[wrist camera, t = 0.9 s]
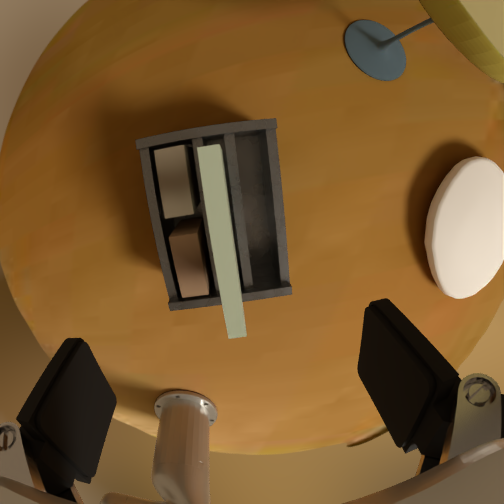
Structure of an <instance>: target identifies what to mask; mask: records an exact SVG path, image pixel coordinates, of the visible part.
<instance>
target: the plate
mask: <svg viewBox="0 0 504 504" xmlns="http://www.w3.org/2000/svg"><path fill="white" fill-rule="evenodd" d="M424 243H425V248H426V253H427V258H428V263H429V267H430V270H431V273H432V276H433V278H434V280H435V282H436V284H437V286H438V288H439V289H440V290H441V291H442V292H443V293H444V294H446V295H448V296H451V297H453V298H456V299H461V298H466V297H469V296H472V295H474V294H475V293H477V292H478V291H479V290H480V289H482V288H483V287H484V286H486V285H487V284H488V283H489V281H490V280H491V279H492V278H493V277H494V275H495V274H496V272H497V271H498V269H499V268H500V266H501V264H502V262H503V260H504V173H503V171H502V170H501V169H500V168H499V167H498V166H497V165H496V163H494V162H493V161H491V160H489V159H487V158H485V157H478V156H475V157H471V158H467V159H464V160H462V161H460V162H459V163H458V164H456V165H455V166H454V167H453V168H452V169H451V171H450V172H449V173H448V174H447V175H446V177H445V178H444V180H443V181H442V183H441V184H440V186H439V188H438V189H437V191H436V194H435V196H434V198H433V200H432V202H431V204H430V208H429V212H428V216H427V221H426V231H425V241H424Z"/></svg>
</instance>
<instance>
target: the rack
mask: <svg viewBox="0 0 504 504" xmlns="http://www.w3.org/2000/svg"><path fill="white" fill-rule="evenodd" d="M276 128H277V122H276V118H274V119H261V120H250V121H241V122H232V123H224V124H217V125H210V126H203V127H197V128H191V129H185V130H180V131H174V132H169V133H164V134H160V135H155V136H150V137H146V138H142V139H137V140H135V141H136V149H137V150H140V157H141V164H142V171H143V177H144V183H145V189H146V195H147V201H148V206H149V212H150V217H151V222H152V227H153V232H154V237H155V241H156V246H157V250H158V255H159V259H160V263H161V268H162V272H163V276H164V280H165V284H166V288H167V292H168V295H169V302H168V305H169V308H170V311H173V310H182V309H191V308H199V307H208V306H215V305H222V301H221V296H220V290H219V285H218V279H217V274H216V268H215V262H214V256H213V251H212V245H211V239H210V232H209V226H208V220H207V214H206V207H205V200H204V194H203V187H202V180H201V173H200V166H199V158H198V151H197V147H203V146H210V145H217V144H220V146H221V149H222V151H223V159H224V167H225V174H226V182H227V190H228V197H229V205H230V212H231V219H232V227H233V234H234V241H235V248H236V255H237V263H238V271H239V279H240V287H241V295H242V302H245V301H252V300H259V299H265V298H272V297H278V296H285V295H291V294H292V286H291V284H290V281H289V266H288V253H287V240H286V228H285V216H284V205H283V195H282V184H281V174H280V165H279V156H278V147H277V138H276ZM180 145H186V146H189V147H193V153H194V160H195V167H196V175H197V182H198V188H199V195H200V203H199V205H198V207H197V209H196V211H195V213H194V214H191V215H185V216H178V217H172V218H166V219H165V216H164V210H163V204H162V199H161V193H160V187H159V181H158V174H157V167H156V161H155V153H154V150H159V149H164V148H169V147H174V146H180ZM198 217H203V221H204V227H205V233H206V239H207V245H208V251H209V256H210V262H211V276H210V285H209V294H208V295H200V296H192V297H184V298H182V295H181V290H180V286H179V282H178V278H177V273H176V269H175V265H174V260H173V256H172V251H171V246H170V241H169V236H170V235H171V233H172V232H173V230H174V229H175V227H176V226H177V224H178V223H179V221H180V220H185V219H192V218H198Z"/></svg>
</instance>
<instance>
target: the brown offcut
mask: <svg viewBox="0 0 504 504" xmlns="http://www.w3.org/2000/svg"><path fill="white" fill-rule="evenodd" d="M154 153H155V161H156V167H157V174H158V181H159V187H160V193H161V199H162V204H163V210H164V216H165V219H166V218H172V217H178V216H185V215H191V214H194V213H195V211H196V209H197V207H198V205H199V203H200V195H199V188H198V182H197V175H196V167H195V160H194V153H193V147H189V146H186V145H180V146H174V147H169V148H164V149H159V150H154Z"/></svg>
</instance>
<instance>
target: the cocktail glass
mask: <svg viewBox="0 0 504 504" xmlns="http://www.w3.org/2000/svg"><path fill="white" fill-rule="evenodd" d="M419 1H420V3H421V4H422V6H423V7H424V9H425V10H426V12H427V13H428V15H429V16H430V17H431V18H429V19H427V20H425V21H423V22H421V23H419V24H417V25H415V26H413V27H411V28H409V29H407V30H406V31H404V32H402V33H400V34H398V35H396V36H395V35H394V34H393V33H392V32H391V31H390V30H389V29H388V28H386V27H385V26H383V25H381V24H379V23H377V22H374V21H370V20H360V21H356V22H354V23H352V24H351V25H350V26H349V27H348V29H347V31H346V33H345V46H346V49H347V52H348V54H349V56H350V58H351V59H352V61H353V62H354V63H355V64H356V65H357V67H358V68H360V69H361V70H362V71H363V72H364V73H366V74H367V75H369V76H371V77H373V78H375V79H378V80H384V81H390V80H394V79H396V78H398V77H399V76H401V74H402V73H403V72H404V69H405V66H406V56H405V52H404V49H403V47H402V45H401V43H400V41H399V39H401V38H403V37H405V36H407V35H408V34H410V33H412V32H414V31H416V30H418V29H420V28H422V27H424V26H426V25H428V24H431V23H433V22H434V23H435V24H436V25H437V26H438V28H439V29H440V30H441V31H442V32H443V34H444V35H445V36H446V37H447V38H448V40H449V41H450V42H451V43H452V44H453V45H454V46H455V47H456V48H457V49H458V50H459V51H460V52H461V53H462V54H463V55H464V56H465V57H466V58H467V59H468V60H469V61H470V62H471V63H473V64H474V65H475V66H476V67H477V68H479V69H480V70H481V71H482V72H484V73H485V74H486V75H488V76H489V77H491V78H492V79H494V80H497V81H499V82H501V83H504V0H419Z"/></svg>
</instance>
